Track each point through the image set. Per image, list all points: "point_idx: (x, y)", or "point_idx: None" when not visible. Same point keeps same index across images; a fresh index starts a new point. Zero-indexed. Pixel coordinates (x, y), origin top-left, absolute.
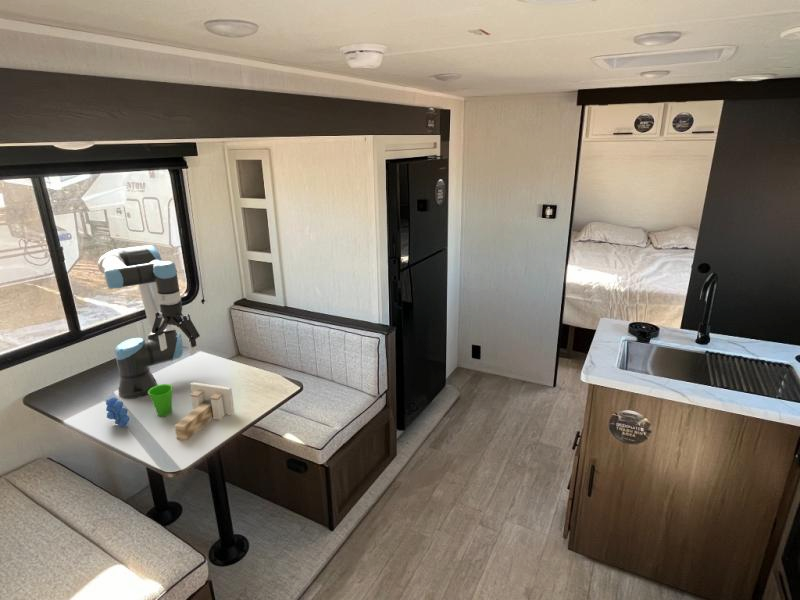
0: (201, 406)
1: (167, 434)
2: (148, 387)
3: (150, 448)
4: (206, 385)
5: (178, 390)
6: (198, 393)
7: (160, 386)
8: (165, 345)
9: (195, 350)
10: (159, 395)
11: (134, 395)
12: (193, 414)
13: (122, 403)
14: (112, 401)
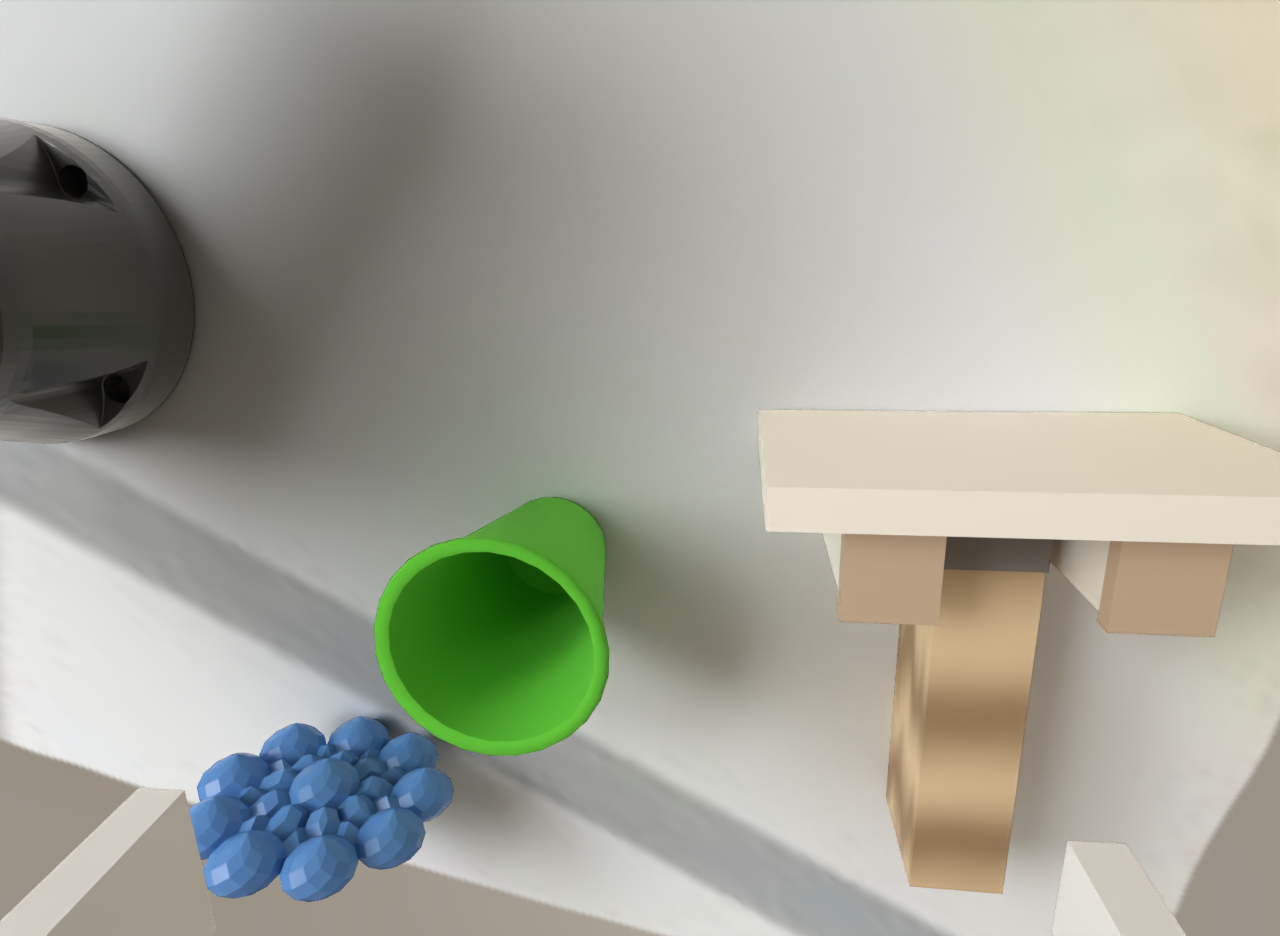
0: (968, 610)
1: (779, 763)
2: (147, 319)
3: (775, 896)
4: (1004, 521)
5: (382, 189)
6: (921, 584)
7: (419, 570)
8: (122, 900)
9: (1162, 918)
10: (564, 738)
11: (133, 418)
12: (972, 734)
13: (335, 855)
14: (256, 891)
